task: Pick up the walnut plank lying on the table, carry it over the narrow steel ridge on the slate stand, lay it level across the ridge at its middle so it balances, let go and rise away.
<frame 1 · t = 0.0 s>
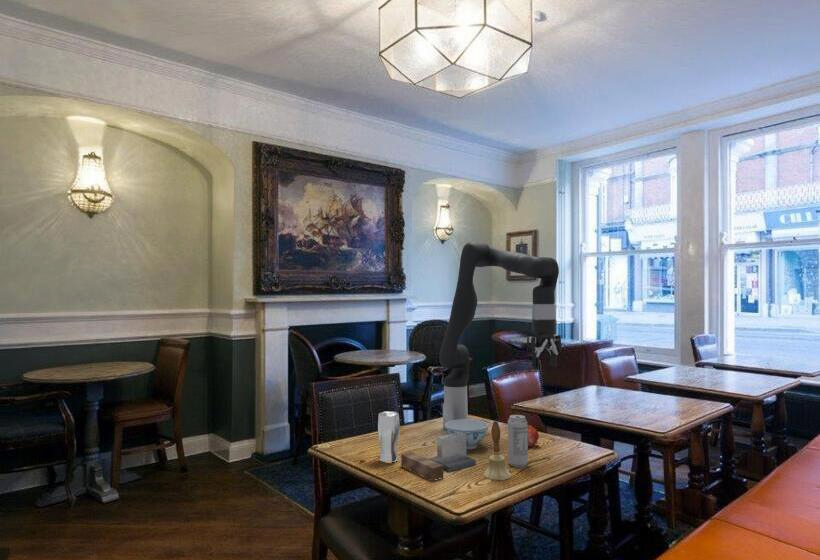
hand: (544, 367, 168), 29 cm above the table, tool pointing down, fingers open, 8 cm apart
chinaware: (467, 447, 180), on the table
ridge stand: (452, 463, 162), on the table
walnut plank: (421, 472, 155), on the table
hand bell: (497, 476, 151), on the table
pomegranate: (528, 446, 181), on the table
energy drink can: (518, 465, 161), on the table
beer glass: (389, 460, 166), on the table
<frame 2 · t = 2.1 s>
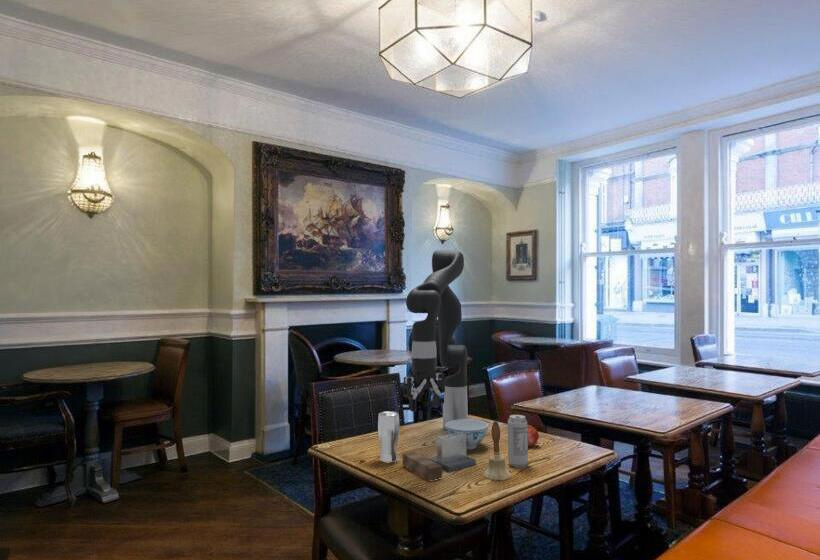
hand: (424, 409, 155), 19 cm above the table, tool pointing down, fingers open, 8 cm apart
nothing on the table moved.
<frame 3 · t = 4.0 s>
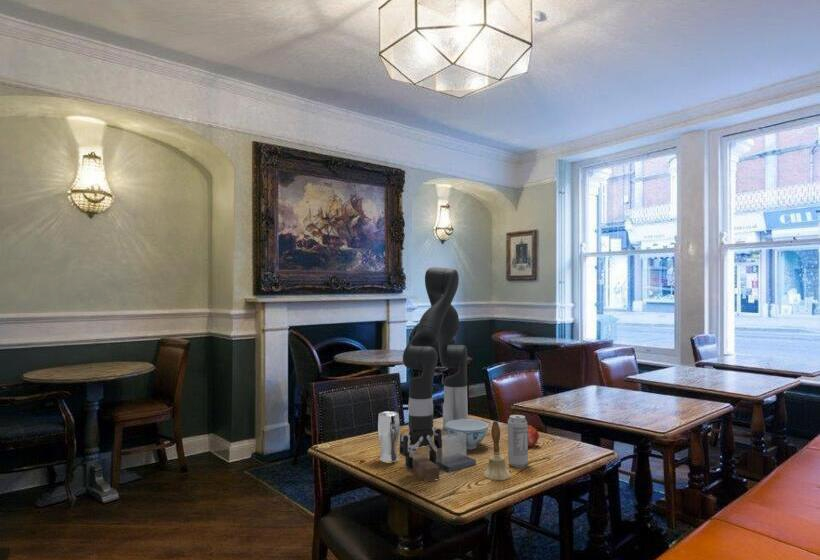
hand: (421, 466, 155), 2 cm above the table, tool pointing down, fingers open, 8 cm apart
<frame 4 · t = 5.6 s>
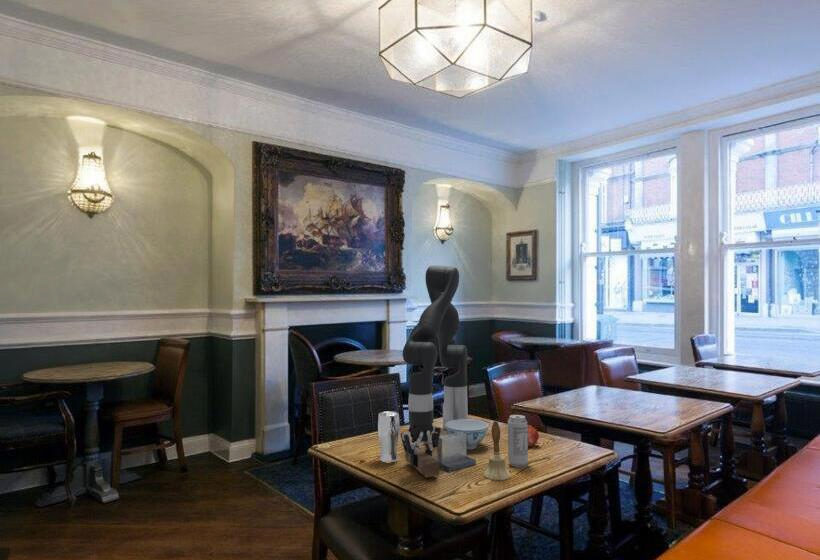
hand: (421, 464, 155), 2 cm above the table, tool pointing down, fingers closed on walnut plank, 4 cm apart
walnut plank: (421, 467, 155), point 1 cm above the table, touching gripper
everything else where it was.
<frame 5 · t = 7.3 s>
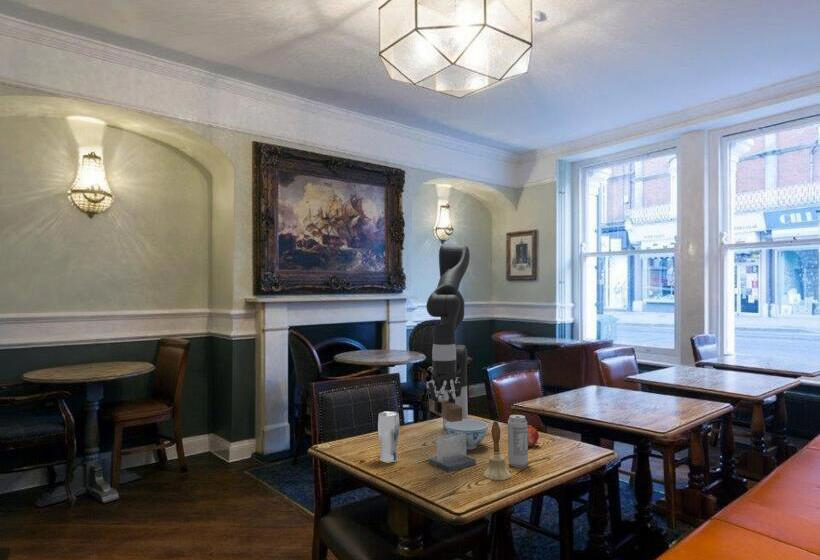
hand: (444, 411, 162), 17 cm above the table, tool pointing down, fingers closed on walnut plank, 4 cm apart
walnut plank: (444, 415, 162), point 15 cm above the table, touching gripper
everything else where it was.
when the fingers open (11 cm above the table, at t = 9.5 s): walnut plank stays where it is, resting on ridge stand.
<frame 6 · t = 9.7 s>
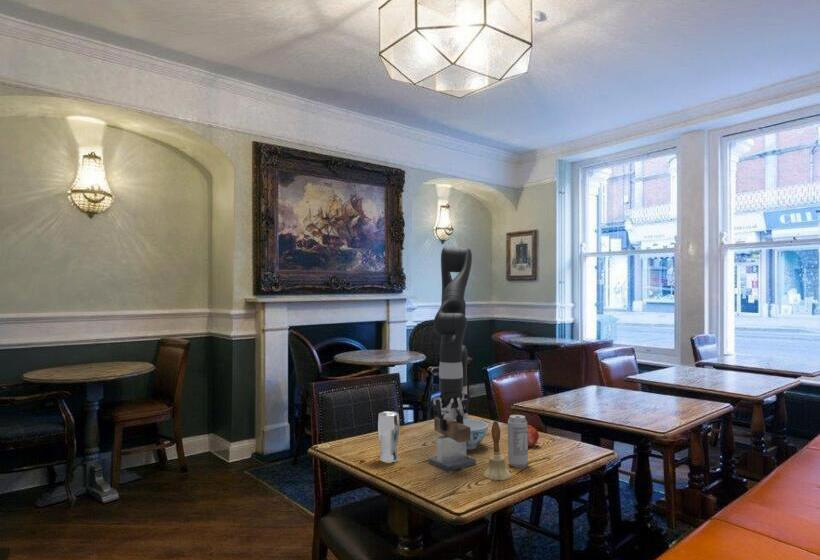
hand: (451, 429, 162), 11 cm above the table, tool pointing down, fingers open, 6 cm apart
walnut plank: (451, 435, 162), point 9 cm above the table, touching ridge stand
everything else where it was.
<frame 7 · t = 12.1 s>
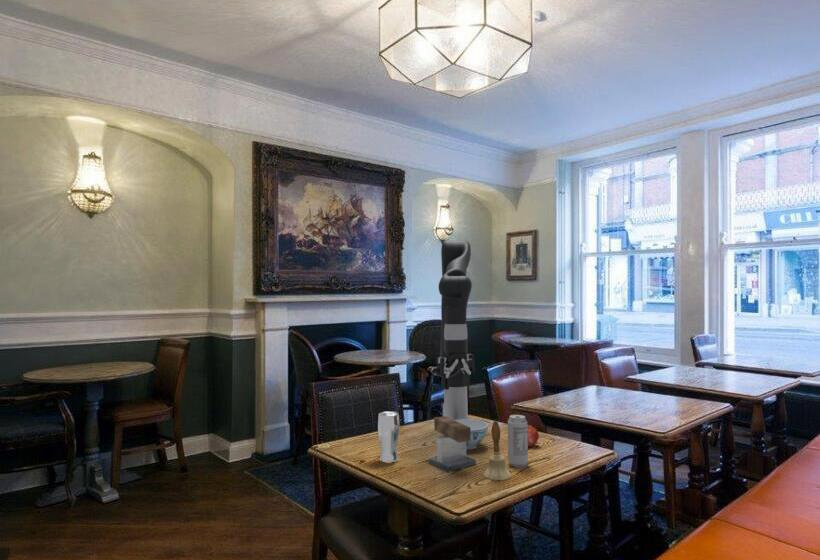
hand: (456, 387, 166), 23 cm above the table, tool pointing down, fingers open, 8 cm apart
nothing on the table moved.
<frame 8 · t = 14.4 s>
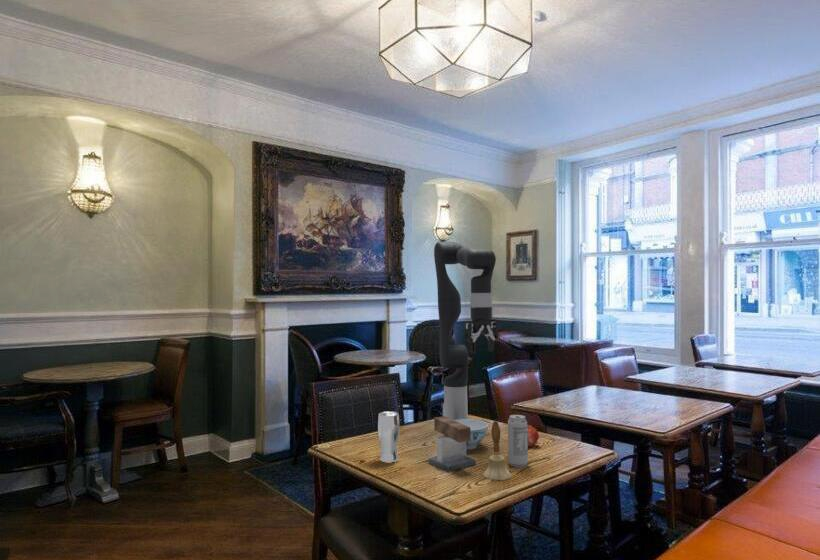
hand: (481, 352, 180), 33 cm above the table, tool pointing down, fingers open, 8 cm apart
nothing on the table moved.
at the end: walnut plank 0.1 cm off-centre on the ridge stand, point 9.0 cm above the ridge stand's base; walnut plank tilted 0°; the gripper is holding nothing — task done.
